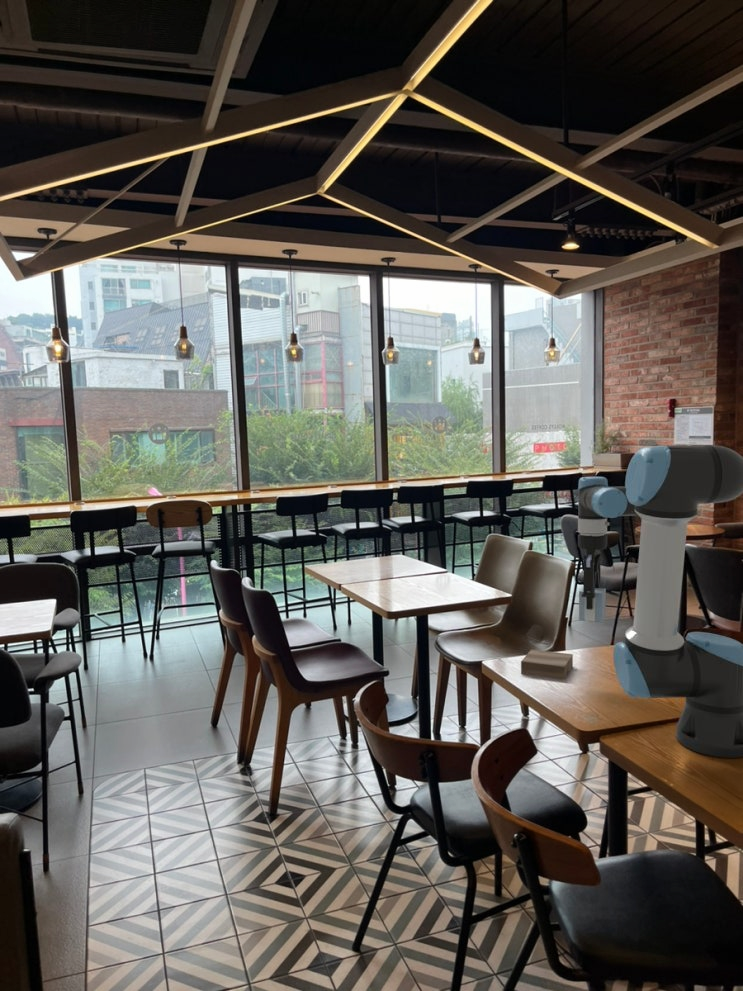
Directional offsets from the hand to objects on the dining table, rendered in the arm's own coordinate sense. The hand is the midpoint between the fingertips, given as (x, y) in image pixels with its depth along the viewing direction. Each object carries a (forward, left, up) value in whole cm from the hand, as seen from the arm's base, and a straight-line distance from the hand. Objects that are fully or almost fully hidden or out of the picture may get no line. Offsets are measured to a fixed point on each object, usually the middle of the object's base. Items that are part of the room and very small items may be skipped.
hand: (592, 617), depth 189 cm
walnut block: (+2, +12, -17) cm, 21 cm away
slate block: (0, 0, 0) cm, 0 cm away
